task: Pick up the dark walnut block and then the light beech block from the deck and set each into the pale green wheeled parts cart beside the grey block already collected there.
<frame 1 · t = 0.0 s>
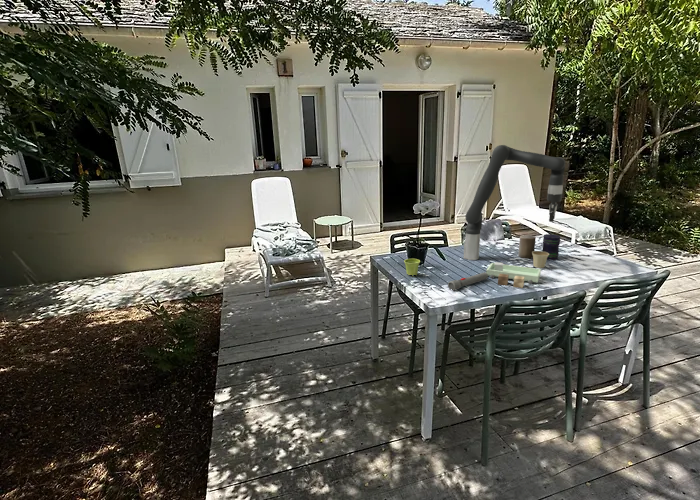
hand: (551, 220, 227), 29 cm above the table, fingers open, 8 cm apart
cart: (512, 276, 221), on the table
flower pot: (539, 266, 237), on the table
flashlight: (469, 285, 212), on the table
storage jar: (549, 258, 253), on the table
walnut part: (502, 283, 211), on the table
grey part: (498, 271, 224), point 2 cm above the table, touching cart
beech part: (518, 286, 207), on the table
plant pot: (411, 275, 230), on the table
pillar candle: (525, 256, 257), on the table
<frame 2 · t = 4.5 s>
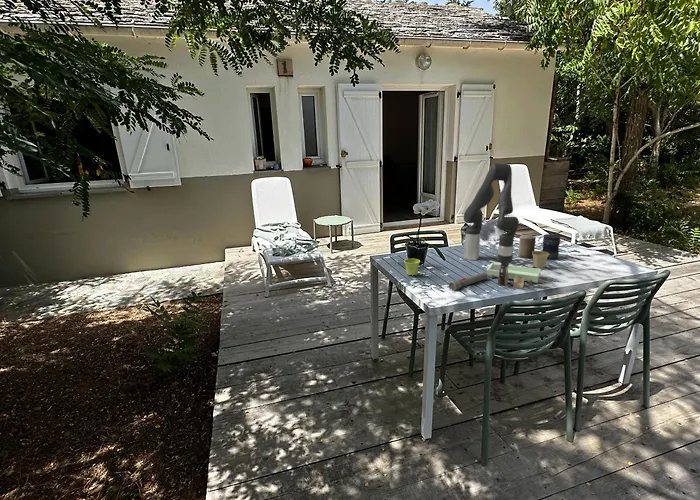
hand: (502, 283, 211), 0 cm above the table, fingers closed on walnut part, 4 cm apart
walnut part: (502, 283, 211), on the table, touching gripper
everything else where it was.
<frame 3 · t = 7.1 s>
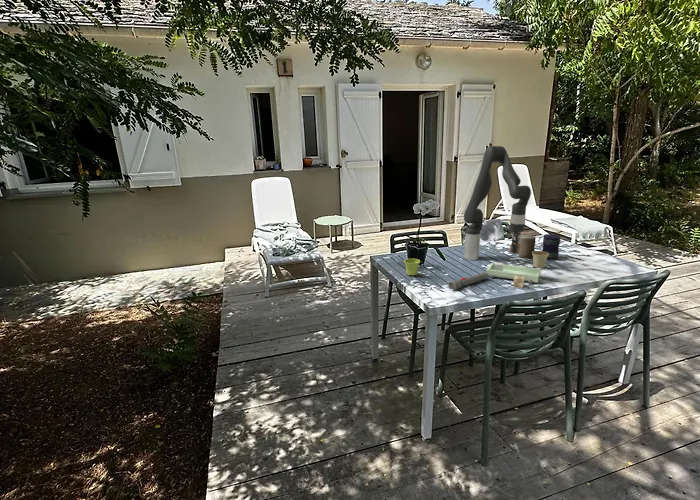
hand: (515, 251, 217), 15 cm above the table, fingers closed on walnut part, 4 cm apart
walnut part: (515, 252, 217), point 15 cm above the table, touching gripper
everything else where it was.
when the fingers open (3 cm above the table, at t = 9.6 s): walnut part stays where it is, resting on cart.
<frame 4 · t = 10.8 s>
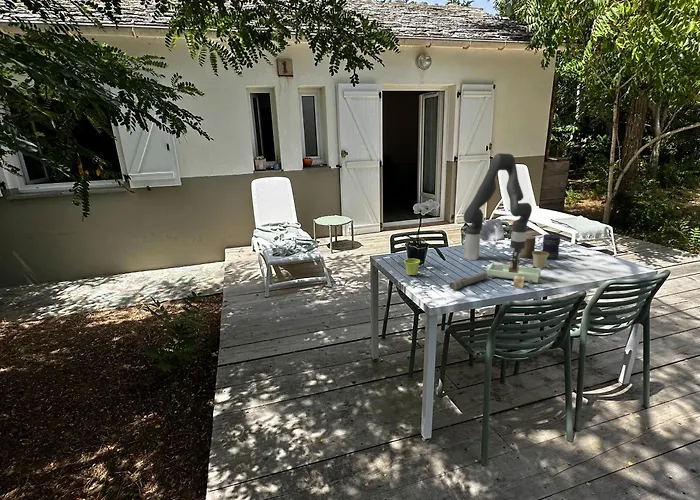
hand: (515, 267, 216), 7 cm above the table, fingers open, 8 cm apart
walnut part: (513, 272, 220), point 2 cm above the table, tilted 16°, touching cart
everything else where it was.
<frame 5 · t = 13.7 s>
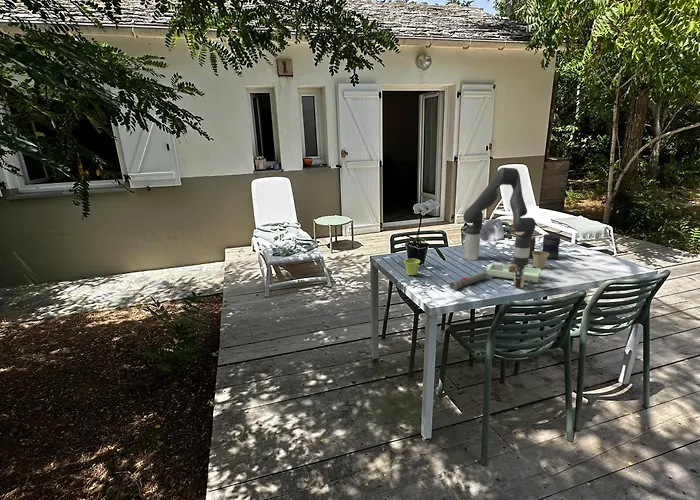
hand: (518, 285, 207), 0 cm above the table, fingers closed on beech part, 4 cm apart
walnut part: (513, 273, 220), point 2 cm above the table, touching cart
beech part: (518, 286, 207), on the table, touching gripper
everything else where it was.
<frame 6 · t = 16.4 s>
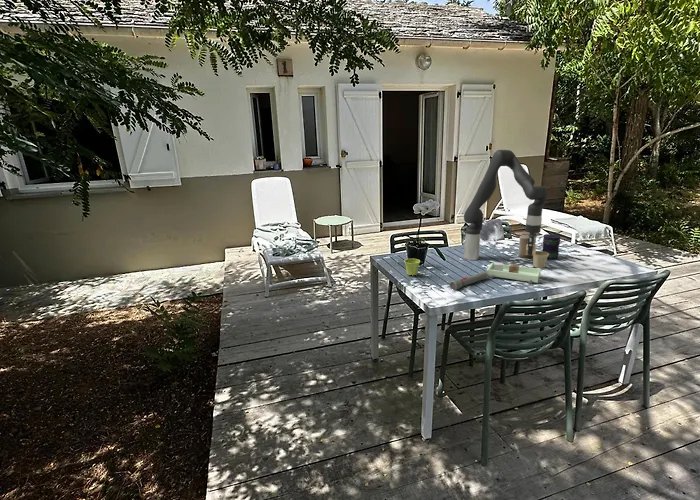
hand: (530, 253, 213), 15 cm above the table, fingers closed on beech part, 4 cm apart
beech part: (530, 254, 213), point 15 cm above the table, touching gripper
when the fingers open (3 cm above the table, at t = 18.9 s): beech part drops 1 cm, resting on cart.
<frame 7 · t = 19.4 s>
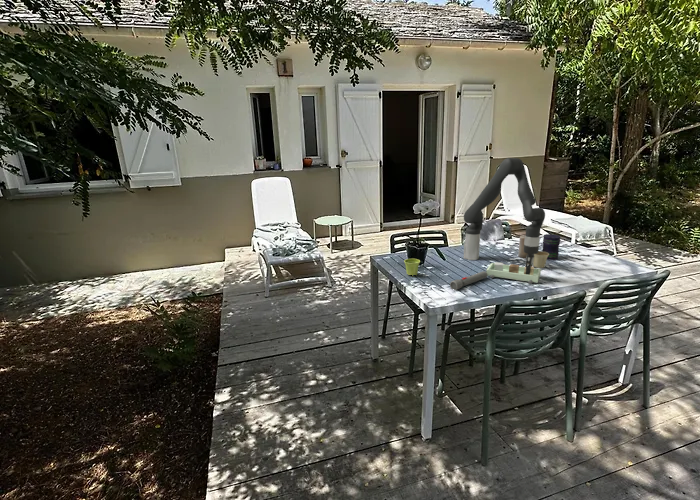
hand: (528, 272, 216), 4 cm above the table, fingers open, 8 cm apart
beech part: (528, 275, 216), point 2 cm above the table, touching cart
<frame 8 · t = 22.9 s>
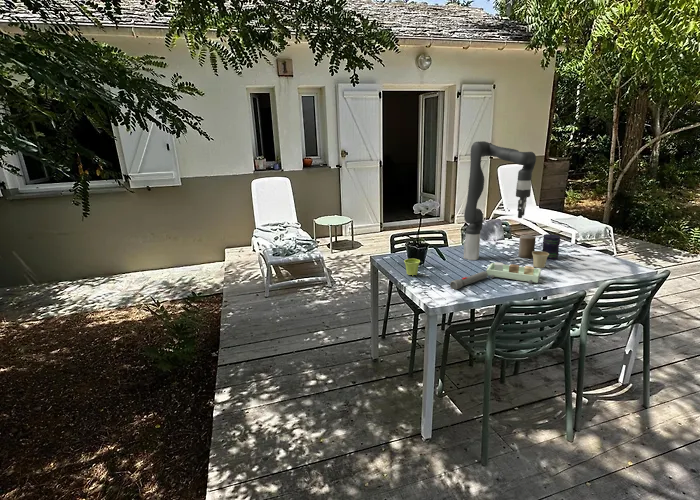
hand: (521, 216, 221), 33 cm above the table, fingers open, 8 cm apart
at the end: walnut part inside the target area on the cart (0.2 cm from its centre), point 1.8 cm above the cart's base; beech part inside the target area on the cart (8.0 cm from its centre), point 1.8 cm above the cart's base; the gripper is holding nothing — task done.
